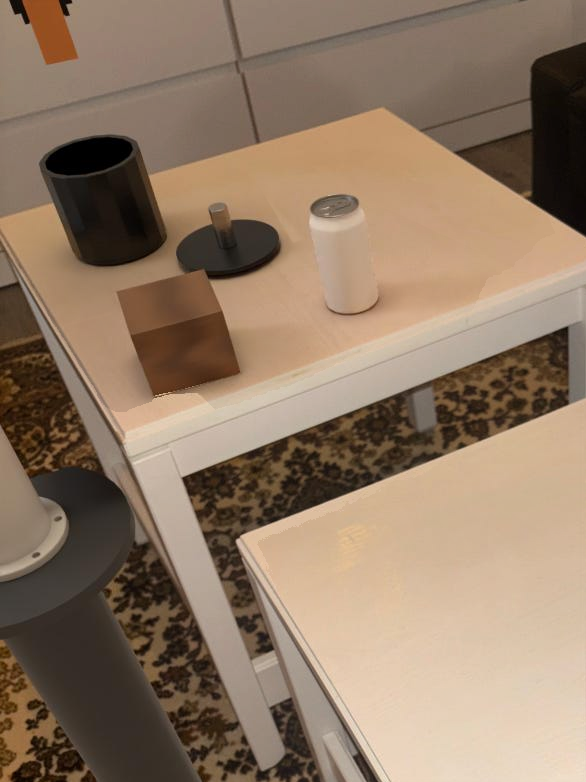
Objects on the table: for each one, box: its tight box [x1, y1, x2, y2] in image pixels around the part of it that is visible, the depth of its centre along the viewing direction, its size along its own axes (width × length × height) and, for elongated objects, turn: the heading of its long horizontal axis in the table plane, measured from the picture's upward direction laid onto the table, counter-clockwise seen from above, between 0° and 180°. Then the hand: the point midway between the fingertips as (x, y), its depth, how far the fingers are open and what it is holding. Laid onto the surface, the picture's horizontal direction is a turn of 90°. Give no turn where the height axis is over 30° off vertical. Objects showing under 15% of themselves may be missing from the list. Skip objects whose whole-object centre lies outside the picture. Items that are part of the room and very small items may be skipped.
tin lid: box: [175, 202, 281, 276], centre depth 128 cm, size 14×14×6 cm
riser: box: [116, 269, 242, 396], centre depth 111 cm, size 10×10×8 cm
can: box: [308, 193, 379, 315], centre depth 115 cm, size 6×6×12 cm
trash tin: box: [38, 133, 167, 266], centre depth 130 cm, size 13×13×12 cm
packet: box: [22, 0, 79, 66], centre depth 106 cm, size 4×7×9 cm, turn 21°
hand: (46, 14), depth 106 cm, fingers closed on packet, 3 cm apart
